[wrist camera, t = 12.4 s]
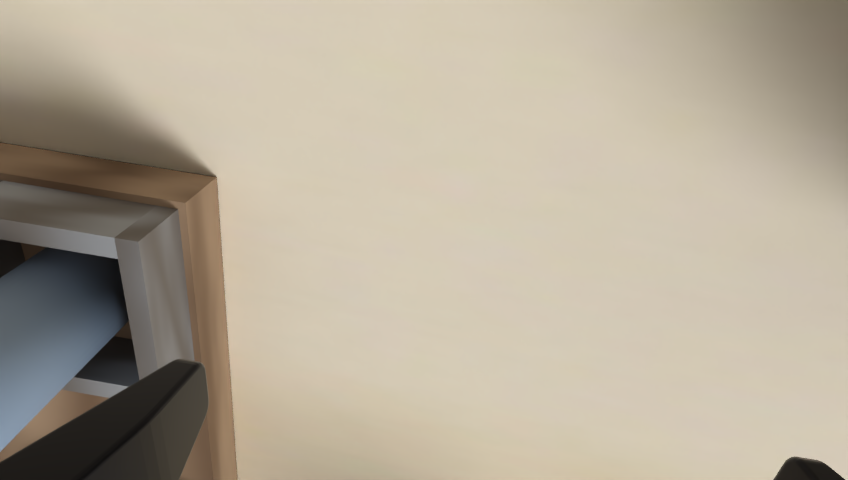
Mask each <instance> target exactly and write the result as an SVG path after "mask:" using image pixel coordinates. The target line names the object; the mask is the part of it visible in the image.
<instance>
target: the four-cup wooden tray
mask: <svg viewBox="0 0 848 480" xmlns="http://www.w3.org/2000/svg"><path fill="white" fill-rule="evenodd" d="M46 247H49V248H55V249H61V250H67V251H73V252H79V253H85V254H91V255H97V256H103V257H109V258H115V259H118V262H119V268H120V273H121V279H122V284H123V290H124V296H125V301H126V307H127V313H128V318H129V321H128V322H127V323H126V324H125V325H124V326H123V327H122V328H121V329H120V330H119V331H118V332H117V333H116V334H115V335H114V336H113V337H112V338H111V339H110V340H109V342H108V343H107V344H106V345H105V346H104V347H103V348H102V349H101V350H100V351H99V352H98V353H97V354H96V355H95V356H94V357H93V358H92V359H91V360H90V361H89V362H88V363H87V364H86V365H85V366H84V367H83V368H82V369H81V370H80V371H79V372H78V373H77V374H76V375H75V376H74V377H73V378H72V379H71V380H70V381H69V382H68V383H67V384H66V385H65V386H64V387H63V388H62V389H61V390H60V391H59V392H58V394H57V395H56V396H55V397H54V398H53V399H52V400H51V401H50V402H49V403H48V404H47V405H46V406H45V407H44V408H43V409H42V410H41V411H40V412H39V413H38V414H37V415H36V416H35V417H34V418H33V419H32V420H31V421H30V422H29V423H28V424H27V425H26V426H25V427H24V428H23V429H22V430H21V431H20V432H19V433H18V434H17V435H16V436H15V437H14V438H13V439H12V440H11V441H10V442H9V443H8V444H7V446H6V447H5V448H4V449H3V450H2V451H1V452H0V462H1V461H3V460H4V459H6V458H8V457H10V456H11V455H13V454H15V453H16V452H18V451H20V450H21V449H23V448H25V447H27V446H28V445H30V444H32V443H33V442H35V441H37V440H38V439H40V438H42V437H44V436H45V435H47V434H49V433H50V432H52V431H54V430H56V429H57V428H59V427H61V426H62V425H64V424H66V423H67V422H69V421H71V420H73V419H74V418H76V417H78V416H79V415H81V414H83V413H84V412H86V411H88V410H90V409H91V408H93V407H95V406H96V405H98V404H100V403H102V402H103V401H105V400H107V399H108V398H110V397H112V396H113V395H115V394H117V393H119V392H120V391H122V390H124V389H125V388H127V387H129V386H130V385H132V384H134V383H136V382H137V381H139V380H141V379H142V378H144V377H146V376H148V375H149V374H151V373H153V372H154V371H156V370H158V369H159V368H161V367H163V366H165V365H166V364H168V363H170V362H171V361H173V360H176V359H185V360H191V361H198V362H201V363H203V365H204V366H205V370H206V377H207V386H208V395H209V406H208V411H207V414H206V417H205V419H204V422H203V424H202V427H201V429H200V431H199V434H198V436H197V438H196V441H195V443H194V446H193V448H192V450H191V453H190V455H189V457H188V460H187V462H186V465H185V467H184V469H183V472H182V474H181V476H180V479H179V480H237V467H236V452H235V438H234V423H233V408H232V394H231V379H230V365H229V350H228V335H227V321H226V306H225V291H224V277H223V262H222V248H221V233H220V218H219V204H218V189H217V177H212V176H206V175H199V174H193V173H187V172H181V171H174V170H168V169H162V168H156V167H150V166H143V165H137V164H131V163H125V162H118V161H112V160H106V159H100V158H93V157H87V156H81V155H75V154H68V153H62V152H56V151H50V150H43V149H37V148H31V147H25V146H18V145H12V144H6V143H0V278H1V277H2V276H4V275H5V274H7V273H8V272H10V271H11V270H13V269H14V268H16V267H17V266H19V265H20V264H22V263H23V262H25V261H26V260H28V259H29V258H31V257H32V256H34V255H35V254H37V253H38V252H40V251H41V250H43V249H44V248H46Z"/></svg>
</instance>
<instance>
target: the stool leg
mask: <svg viewBox="0 0 848 480" xmlns="http://www.w3.org/2000/svg"><path fill="white" fill-rule="evenodd" d="M128 321H129V318H128V313H127V307H126V301H125V296H124V290H123V284H122V279H121V273H120V268H119V262H118V259H115V258H109V257H103V256H97V255H91V254H85V253H79V252H73V251H67V250H61V249H55V248H49V247H46V248H44V249H43V250H41V251H40V252H38V253H37V254H35V255H34V256H32V257H31V258H29V259H28V260H26V261H25V262H23V263H22V264H20V265H19V266H17V267H16V268H14V269H13V270H11V271H10V272H8V273H7V274H5V275H4V276H2V277H1V278H0V452H1V451H2V450H3V449H4V448H5V447H6V446H7V444H8V443H9V442H10V441H11V440H12V439H13V438H14V437H15V436H16V435H17V434H18V433H19V432H20V431H21V430H22V429H23V428H24V427H25V426H26V425H27V424H28V423H29V422H30V421H31V420H32V419H33V418H34V417H35V416H36V415H37V414H38V413H39V412H40V411H41V410H42V409H43V408H44V407H45V406H46V405H47V404H48V403H49V402H50V401H51V400H52V399H53V398H54V397H55V396H56V395H57V394H58V392H59V391H60V390H61V389H62V388H63V387H64V386H65V385H66V384H67V383H68V382H69V381H70V380H71V379H72V378H73V377H74V376H75V375H76V374H77V373H78V372H79V371H80V370H81V369H82V368H83V367H84V366H85V365H86V364H87V363H88V362H89V361H90V360H91V359H92V358H93V357H94V356H95V355H96V354H97V353H98V352H99V351H100V350H101V349H102V348H103V347H104V346H105V345H106V344H107V343H108V342H109V340H110V339H111V338H112V337H113V336H114V335H115V334H116V333H117V332H118V331H119V330H120V329H121V328H122V327H123V326H124V325H125V324H126V323H127V322H128Z"/></svg>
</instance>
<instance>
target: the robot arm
mask: <svg viewBox="0 0 848 480" xmlns="http://www.w3.org/2000/svg"><path fill="white" fill-rule="evenodd" d="M208 406H209V395H208V386H207V377H206V370H205V366H204V365H203V363H201V362H198V361H191V360H185V359H176V360H173V361H171V362H170V363H168V364H166V365H165V366H163V367H161V368H159V369H158V370H156V371H154V372H153V373H151V374H149V375H148V376H146V377H144V378H142V379H141V380H139V381H137V382H136V383H134V384H132V385H130V386H129V387H127V388H125V389H124V390H122V391H120V392H119V393H117V394H115V395H113V396H112V397H110V398H108V399H107V400H105V401H103V402H102V403H100V404H98V405H96V406H95V407H93V408H91V409H90V410H88V411H86V412H84V413H83V414H81V415H79V416H78V417H76V418H74V419H73V420H71V421H69V422H67V423H66V424H64V425H62V426H61V427H59V428H57V429H56V430H54V431H52V432H50V433H49V434H47V435H45V436H44V437H42V438H40V439H38V440H37V441H35V442H33V443H32V444H30V445H28V446H27V447H25V448H23V449H21V450H20V451H18V452H16V453H15V454H13V455H11V456H10V457H8V458H6V459H4V460H3V461H1V462H0V480H179V479H180V476H181V474H182V472H183V469H184V467H185V465H186V462H187V460H188V457H189V455H190V453H191V450H192V448H193V446H194V443H195V441H196V438H197V436H198V434H199V431H200V429H201V427H202V424H203V422H204V419H205V417H206V414H207V411H208ZM774 480H845V479H844V478H842V477H841V476H840V475H839V474H837V473H836V472H835V471H834V470H832V469H831V468H830V467H829V466H827V465H826V464H825V463H823V462H821V461H818V460H813V459H807V458H801V457H791V458H789V459H787V460H786V461H785V463H784V464H783V466H782V467H781V469H780V470H779V472H778V473H777V475H776V477H775V478H774Z"/></svg>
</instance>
